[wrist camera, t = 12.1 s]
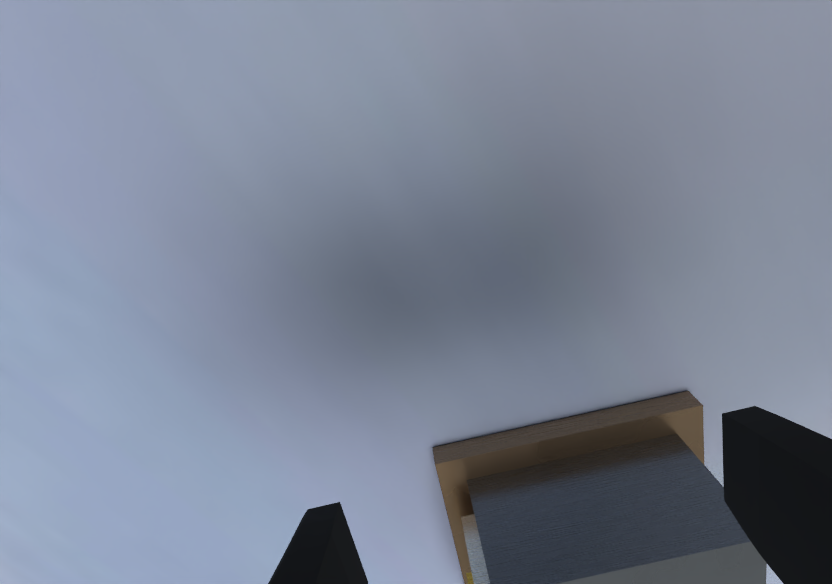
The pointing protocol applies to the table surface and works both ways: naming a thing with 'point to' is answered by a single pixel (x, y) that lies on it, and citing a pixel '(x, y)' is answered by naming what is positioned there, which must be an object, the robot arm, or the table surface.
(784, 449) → the robot arm
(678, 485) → the mounted unit
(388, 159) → the table surface
